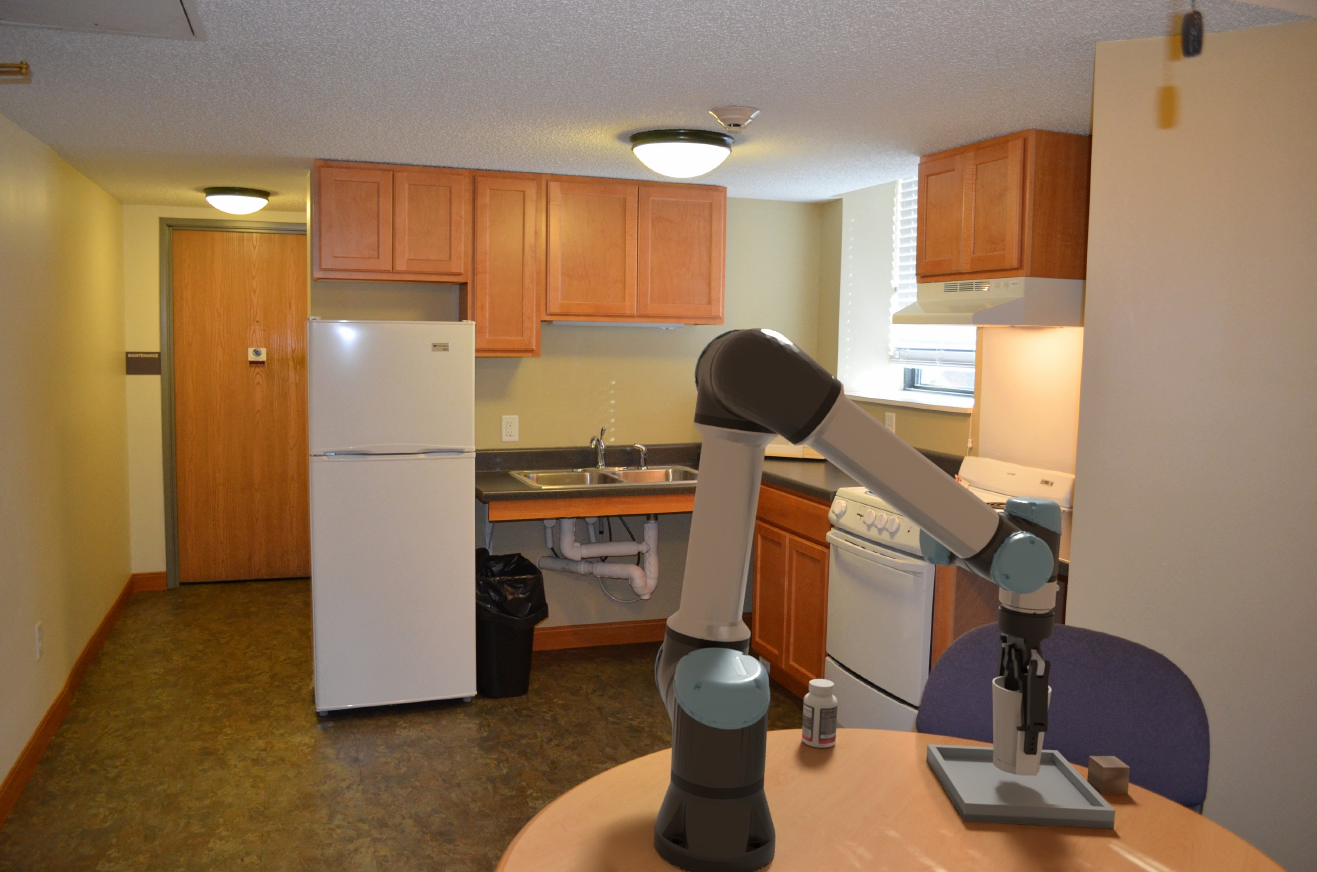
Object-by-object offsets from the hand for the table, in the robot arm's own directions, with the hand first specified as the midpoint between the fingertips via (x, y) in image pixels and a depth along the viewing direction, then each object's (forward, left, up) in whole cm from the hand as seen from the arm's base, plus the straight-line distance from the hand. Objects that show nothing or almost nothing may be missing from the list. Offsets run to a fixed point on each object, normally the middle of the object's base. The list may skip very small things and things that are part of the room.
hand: (1015, 761), depth 140 cm
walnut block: (+15, +3, -5) cm, 16 cm away
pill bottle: (-26, +15, -5) cm, 30 cm away
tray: (0, 0, -4) cm, 4 cm away
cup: (0, 0, -1) cm, 1 cm away
